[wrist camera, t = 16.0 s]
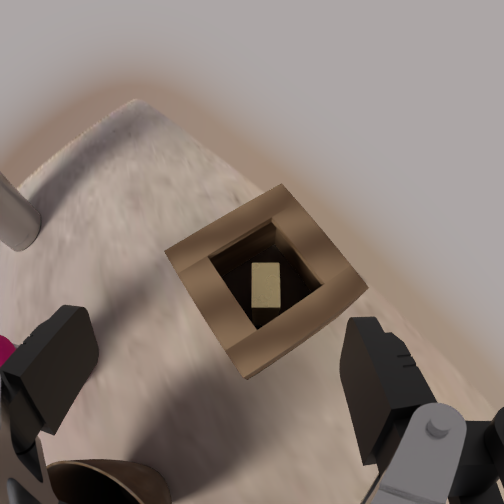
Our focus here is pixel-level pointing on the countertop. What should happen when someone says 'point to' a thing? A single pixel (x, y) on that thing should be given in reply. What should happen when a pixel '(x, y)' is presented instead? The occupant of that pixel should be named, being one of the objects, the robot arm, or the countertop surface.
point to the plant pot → (107, 482)
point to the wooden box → (248, 246)
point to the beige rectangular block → (265, 292)
